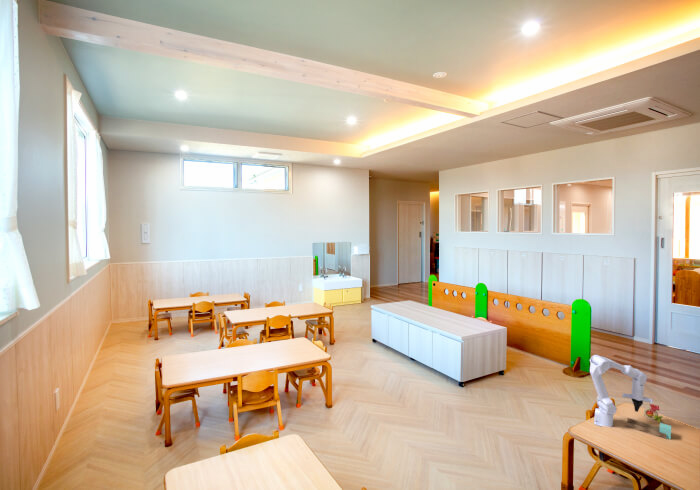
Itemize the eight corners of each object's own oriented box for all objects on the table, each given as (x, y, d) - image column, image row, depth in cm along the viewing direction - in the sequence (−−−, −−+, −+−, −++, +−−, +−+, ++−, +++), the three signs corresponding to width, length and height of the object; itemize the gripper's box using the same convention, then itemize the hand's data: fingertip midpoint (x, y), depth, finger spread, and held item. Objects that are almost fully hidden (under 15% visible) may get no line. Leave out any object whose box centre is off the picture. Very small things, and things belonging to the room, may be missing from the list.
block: (659, 436, 213) (659, 426, 213) (659, 432, 217) (660, 422, 216) (670, 439, 210) (671, 429, 209) (670, 435, 214) (671, 425, 213)
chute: (626, 428, 223) (626, 422, 222) (627, 423, 228) (627, 417, 228) (667, 440, 210) (667, 435, 210) (667, 435, 215) (667, 429, 215)
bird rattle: (648, 424, 230) (665, 423, 224) (640, 407, 232) (657, 405, 226) (647, 420, 235) (665, 419, 229) (640, 403, 237) (657, 401, 231)
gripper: (624, 389, 224) (622, 410, 225) (654, 395, 217) (652, 417, 218) (622, 385, 230) (621, 405, 231) (651, 390, 223) (650, 411, 224)
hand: (636, 410), depth 225 cm, fingers closed
